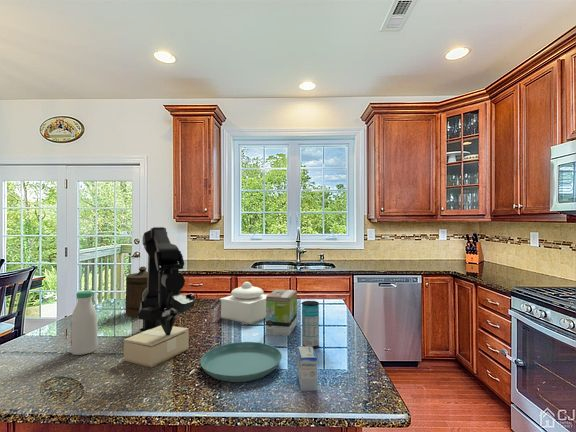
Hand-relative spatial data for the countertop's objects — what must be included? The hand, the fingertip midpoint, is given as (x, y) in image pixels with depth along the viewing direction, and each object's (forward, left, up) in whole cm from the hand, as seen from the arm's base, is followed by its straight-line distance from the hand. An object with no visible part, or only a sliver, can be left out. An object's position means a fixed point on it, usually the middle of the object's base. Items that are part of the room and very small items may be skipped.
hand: (168, 334), depth 108 cm
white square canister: (-1, +51, -8) cm, 51 cm away
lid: (-5, 0, -1) cm, 5 cm away
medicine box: (+47, +2, -7) cm, 48 cm away
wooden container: (-51, +35, -7) cm, 62 cm away
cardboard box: (-5, 0, -7) cm, 9 cm away
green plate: (+25, +4, -8) cm, 27 cm away
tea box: (+21, +40, -7) cm, 46 cm away
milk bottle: (-30, -8, -7) cm, 31 cm away
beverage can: (+38, +28, -7) cm, 48 cm away
